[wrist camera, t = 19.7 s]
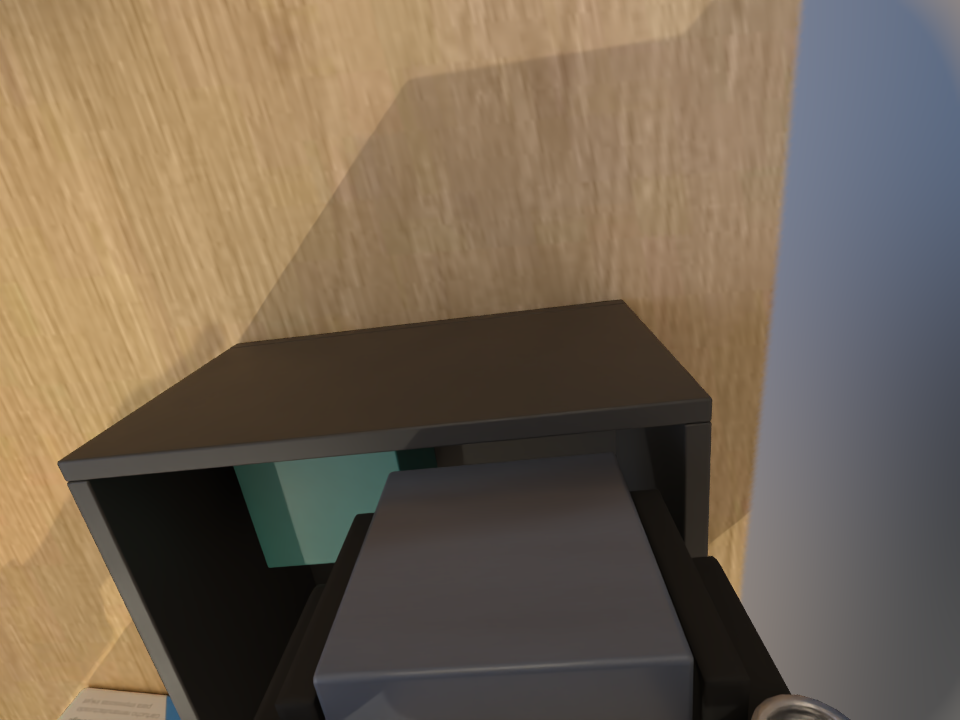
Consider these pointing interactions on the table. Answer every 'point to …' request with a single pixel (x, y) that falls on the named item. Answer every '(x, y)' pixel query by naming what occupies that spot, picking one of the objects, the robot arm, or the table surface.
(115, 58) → the table surface
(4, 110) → the table surface
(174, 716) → the ink box
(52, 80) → the table surface
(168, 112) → the table surface
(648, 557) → the slate block
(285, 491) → the teal block
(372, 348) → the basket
